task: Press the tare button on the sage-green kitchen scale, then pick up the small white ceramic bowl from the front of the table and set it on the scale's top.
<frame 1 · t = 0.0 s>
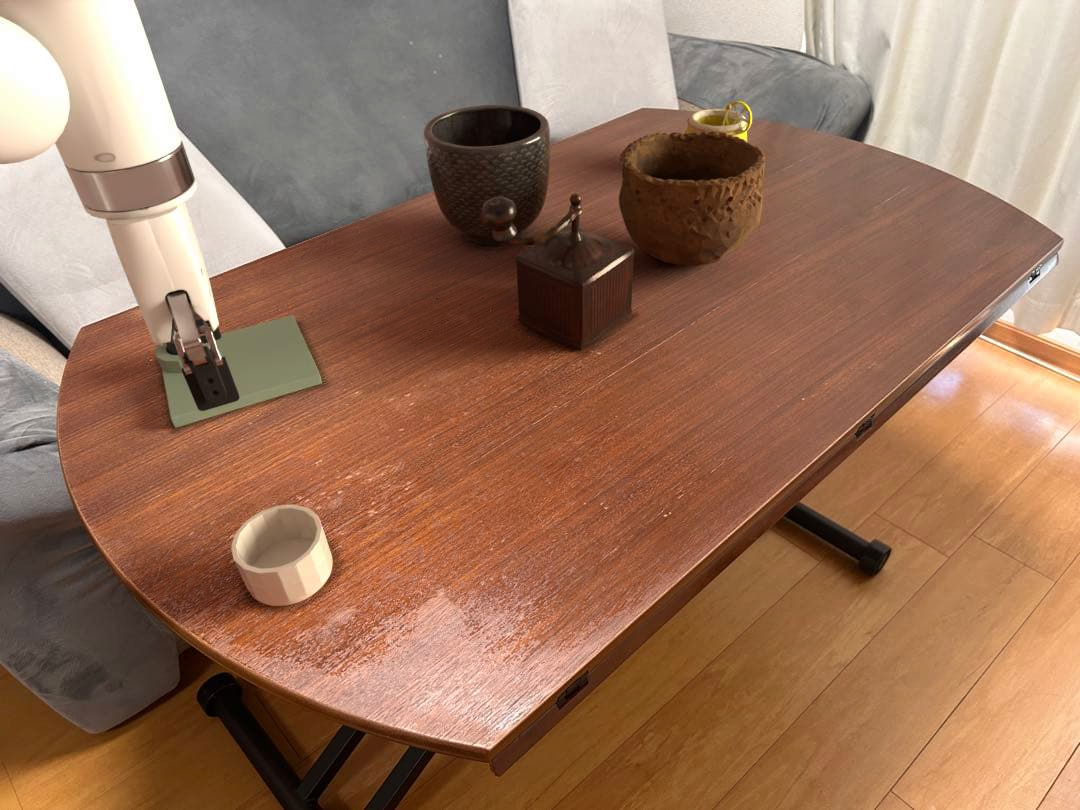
hand: (211, 371, 64), 15 cm above the table, tool pointing down, fingers open, 9 cm apart
tare button: (181, 341, 87), point 4 cm above the table, slide at 0.1 cm
mug: (713, 168, 129), on the table
planter: (494, 233, 113), on the table
scale: (240, 371, 88), on the table
white bowl: (290, 570, 66), on the table
bowl: (683, 258, 106), on the table
pepper mill: (560, 328, 93), on the table
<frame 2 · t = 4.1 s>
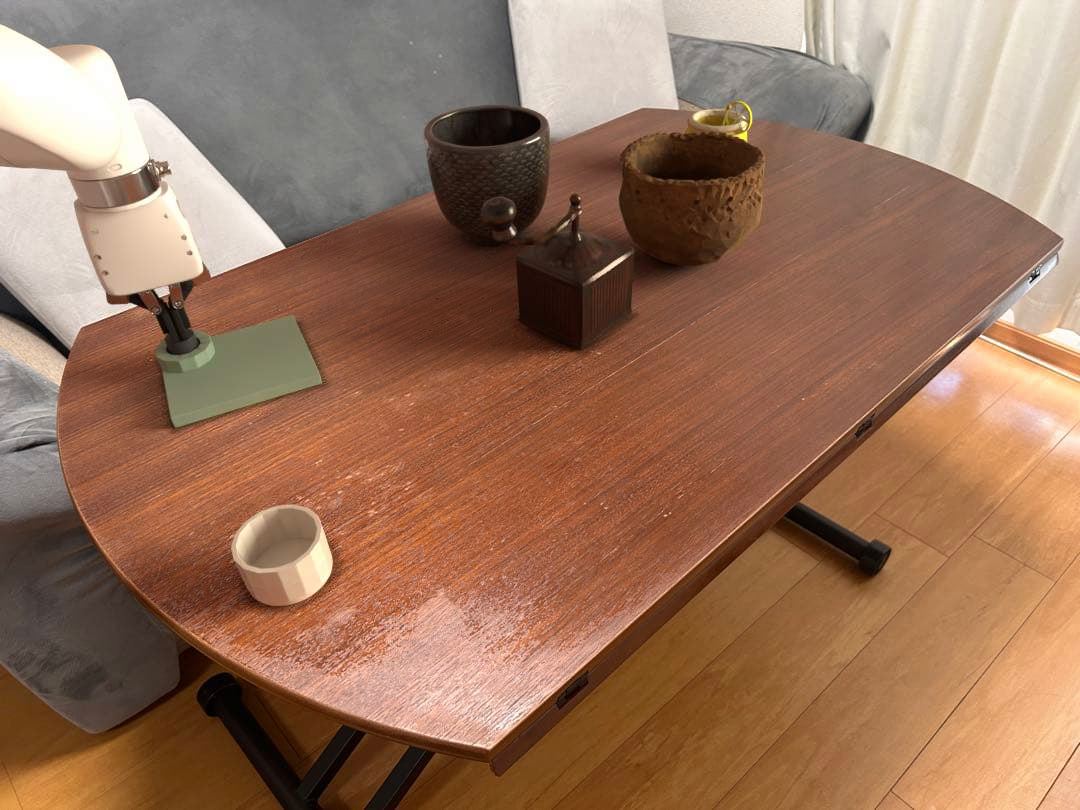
hand: (179, 334, 87), 4 cm above the table, tool pointing down, fingers closed
tare button: (181, 342, 87), point 3 cm above the table, slide at 0.1 cm, touching gripper
everything else where it was.
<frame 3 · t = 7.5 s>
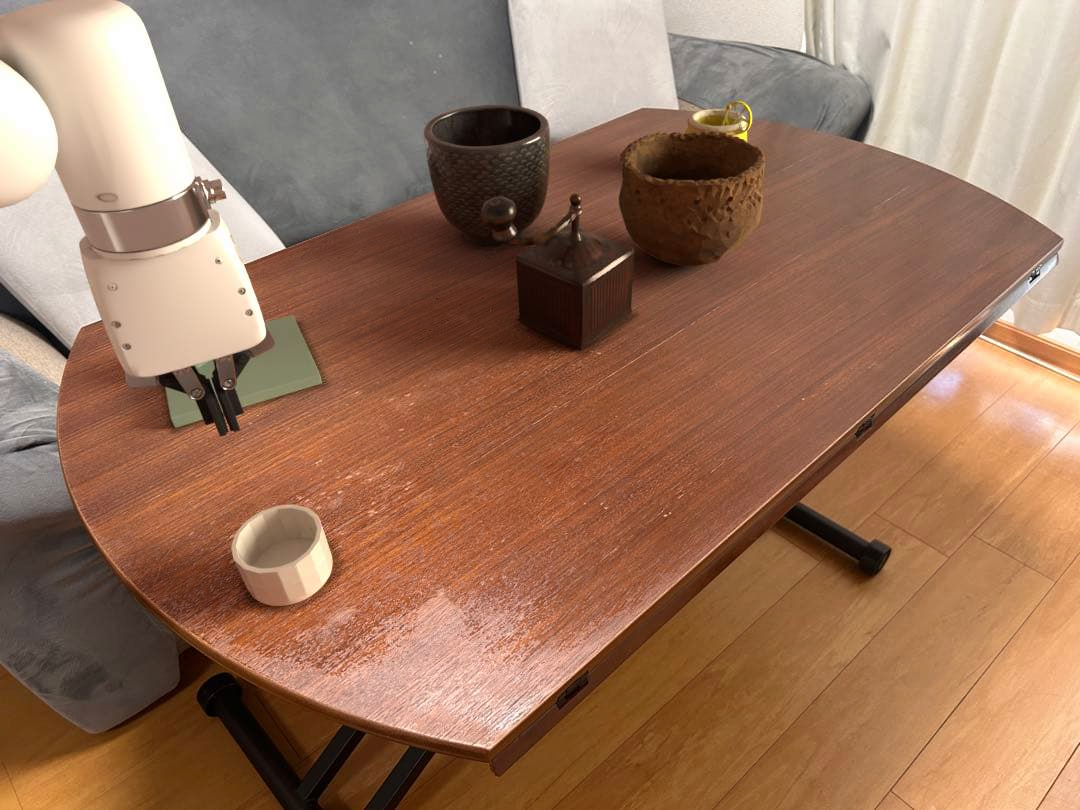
hand: (227, 423, 61), 13 cm above the table, tool pointing down, fingers closed
tare button: (181, 341, 87), point 3 cm above the table, slide at 0.1 cm
everything else where it was.
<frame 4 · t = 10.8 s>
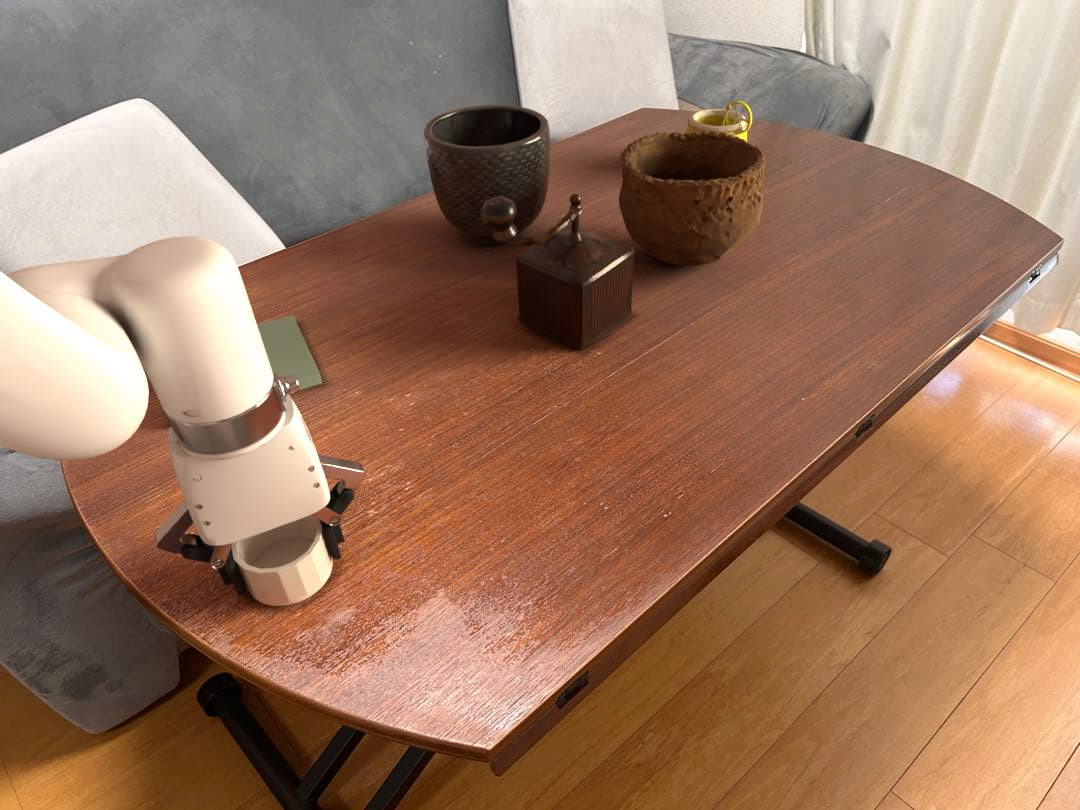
hand: (287, 564, 65), 1 cm above the table, tool pointing down, fingers closed on white bowl, 7 cm apart
white bowl: (290, 570, 66), on the table, touching gripper
everything else where it was.
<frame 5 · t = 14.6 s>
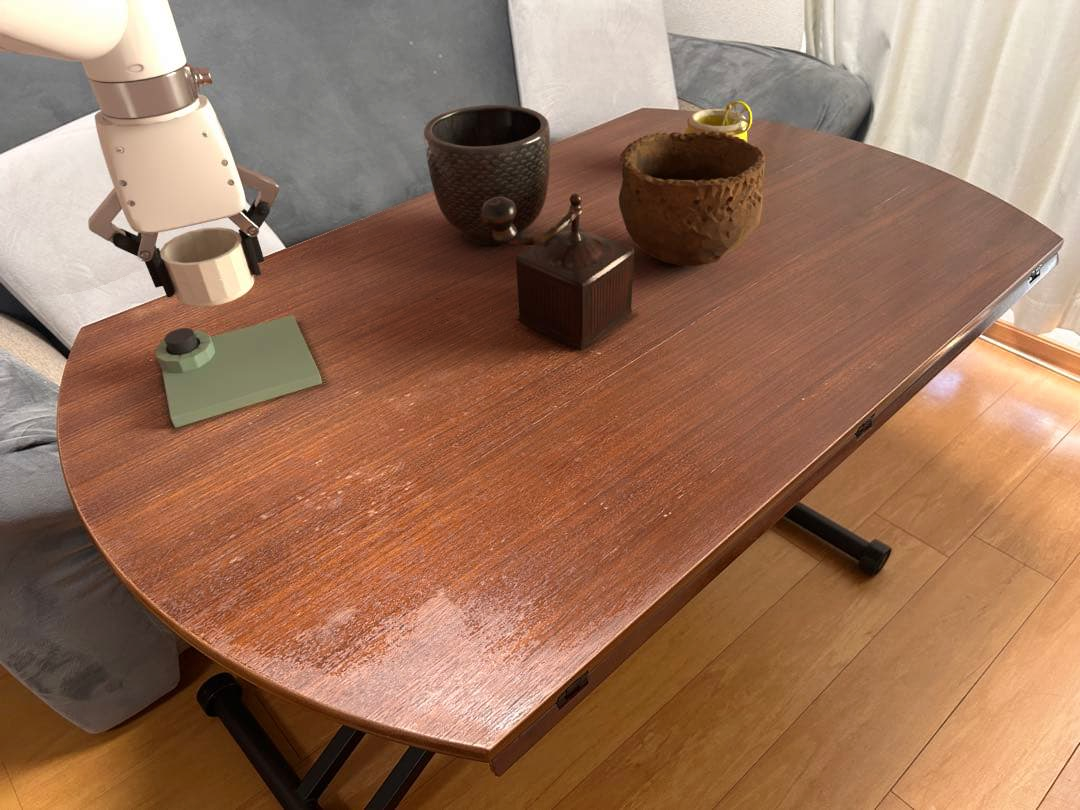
hand: (213, 278, 73), 16 cm above the table, tool pointing down, fingers closed on white bowl, 7 cm apart
white bowl: (216, 286, 74), point 15 cm above the table, touching gripper
everything else where it was.
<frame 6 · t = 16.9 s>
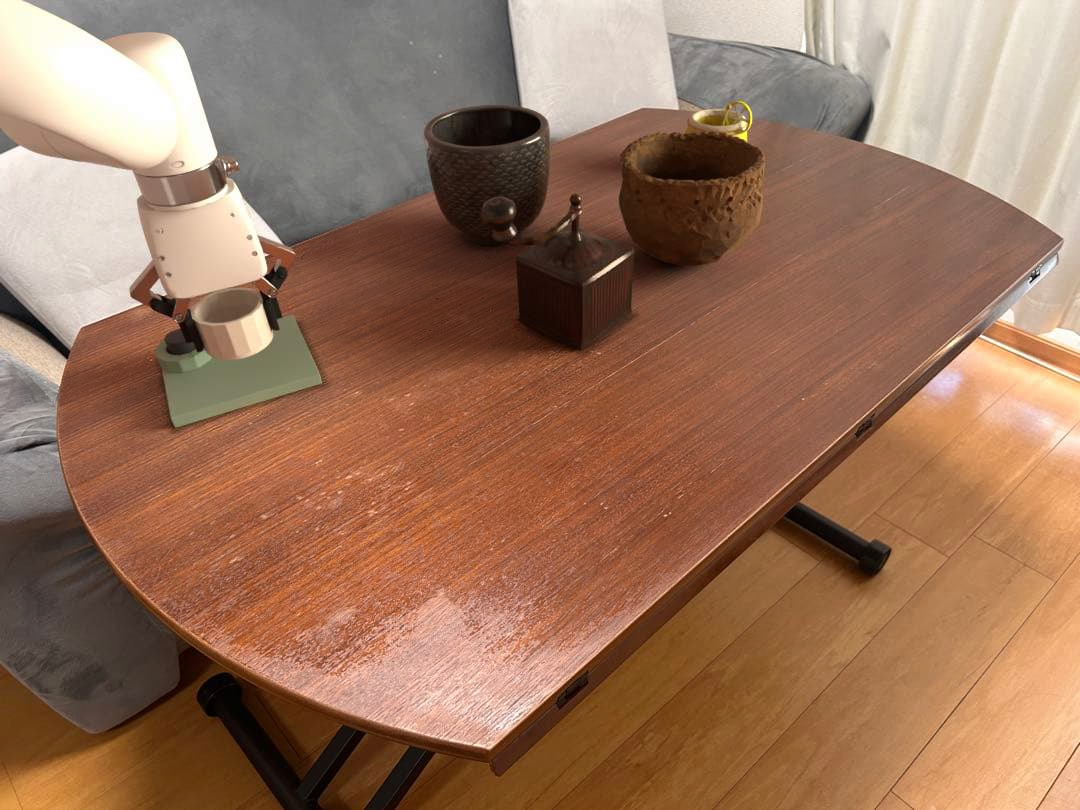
hand: (237, 333, 82), 7 cm above the table, tool pointing down, fingers closed on white bowl, 7 cm apart
white bowl: (239, 340, 83), point 6 cm above the table, touching gripper
everything else where it was.
when the fingers open (2 cm above the table, at t = 18.8 s): white bowl stays where it is, resting on scale.
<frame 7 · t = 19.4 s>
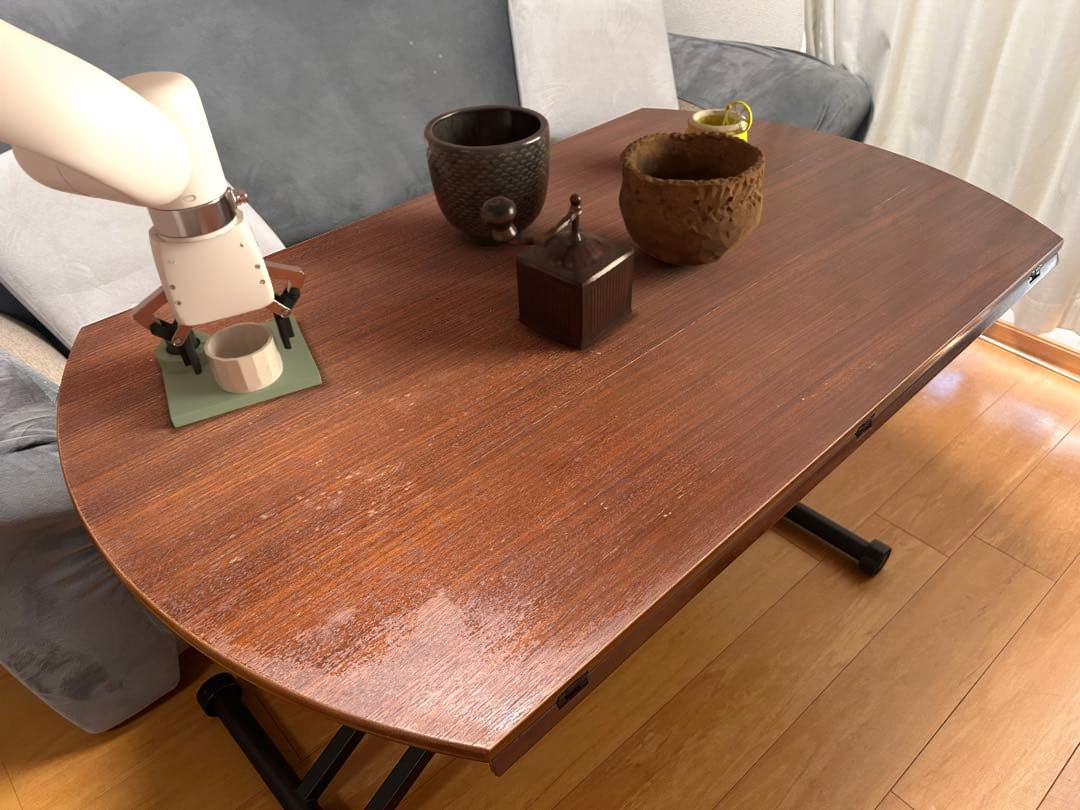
hand: (242, 355, 84), 4 cm above the table, tool pointing down, fingers open, 9 cm apart
white bowl: (250, 373, 86), point 1 cm above the table, touching scale
everything else where it was.
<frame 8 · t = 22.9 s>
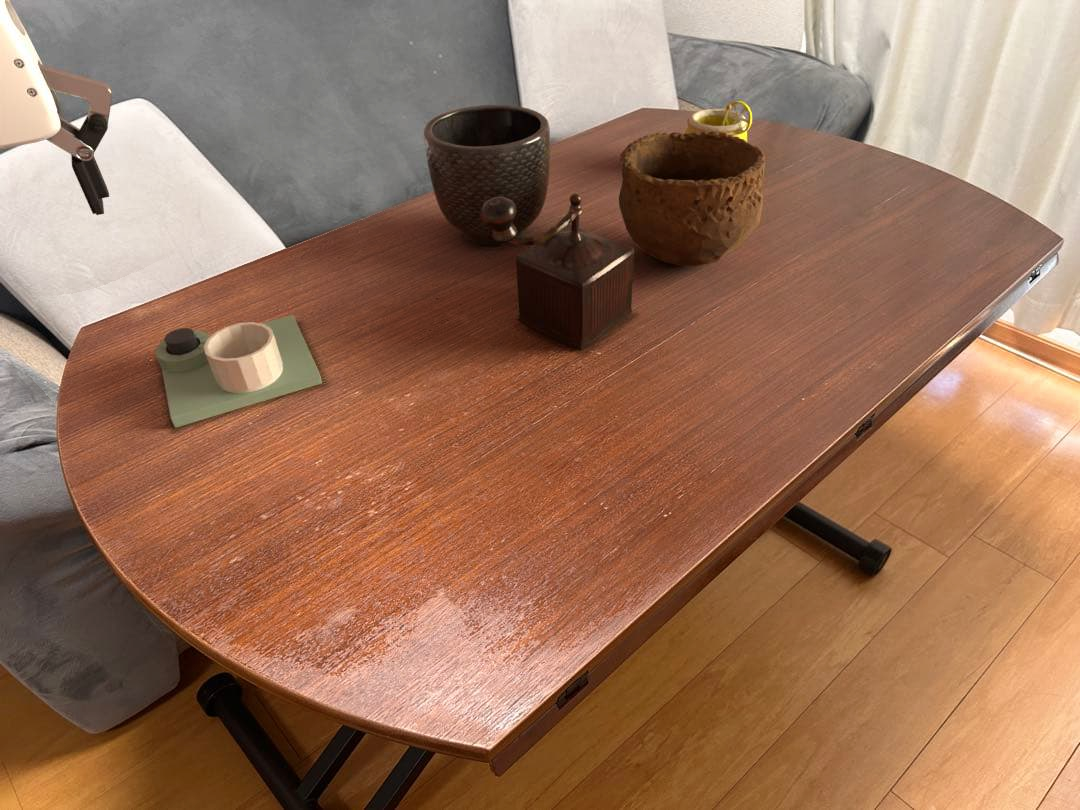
hand: (28, 222, 56), 28 cm above the table, tool pointing down, fingers open, 9 cm apart
nothing on the table moved.
at the end: tare button pushed in 0.9 cm at the most during the clip, back to where it started at the end; white bowl inside the target area on the scale (3.2 cm from its centre), point 1.4 cm above the scale's base; white bowl touching scale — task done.
